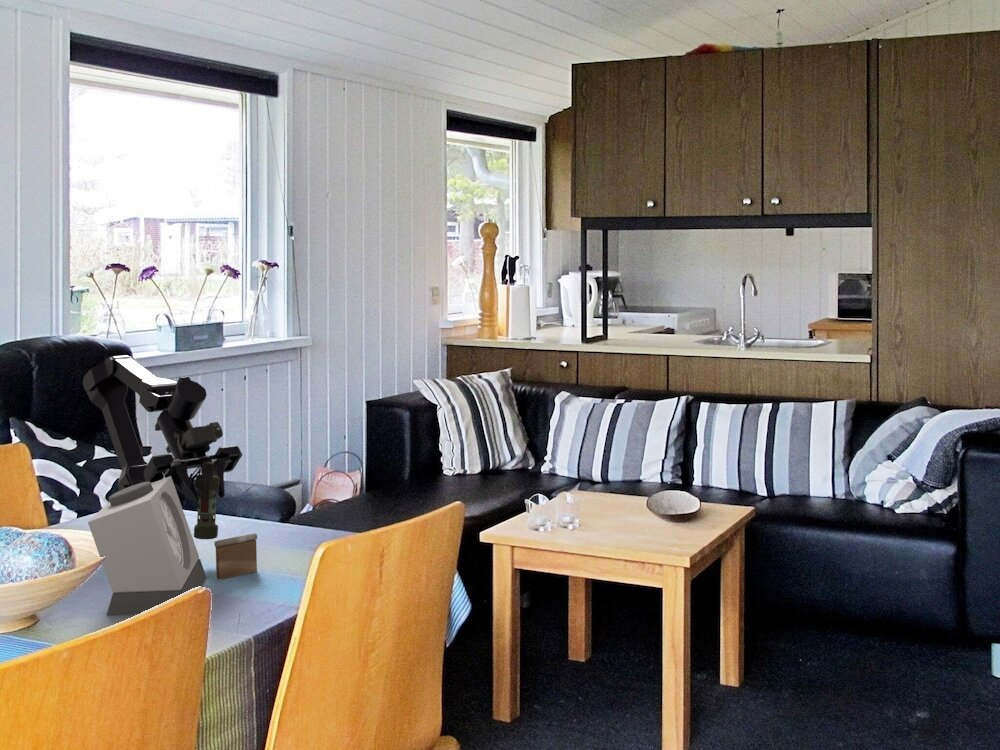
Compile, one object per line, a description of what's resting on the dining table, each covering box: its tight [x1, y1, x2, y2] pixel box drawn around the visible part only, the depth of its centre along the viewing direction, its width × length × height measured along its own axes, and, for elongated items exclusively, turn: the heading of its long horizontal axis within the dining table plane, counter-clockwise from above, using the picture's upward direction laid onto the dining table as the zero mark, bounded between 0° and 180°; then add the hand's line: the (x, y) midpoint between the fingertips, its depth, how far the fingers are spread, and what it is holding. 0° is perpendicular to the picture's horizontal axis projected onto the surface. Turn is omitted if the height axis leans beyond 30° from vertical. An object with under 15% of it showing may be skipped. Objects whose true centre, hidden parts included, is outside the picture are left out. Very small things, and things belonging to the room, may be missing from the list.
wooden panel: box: [214, 532, 258, 581], centre depth 211 cm, size 1×8×7 cm, turn 135°
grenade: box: [189, 462, 221, 540], centre depth 217 cm, size 6×6×15 cm
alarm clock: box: [87, 476, 207, 616], centre depth 198 cm, size 20×16×20 cm
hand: (210, 499), depth 216 cm, fingers closed on grenade, 5 cm apart
